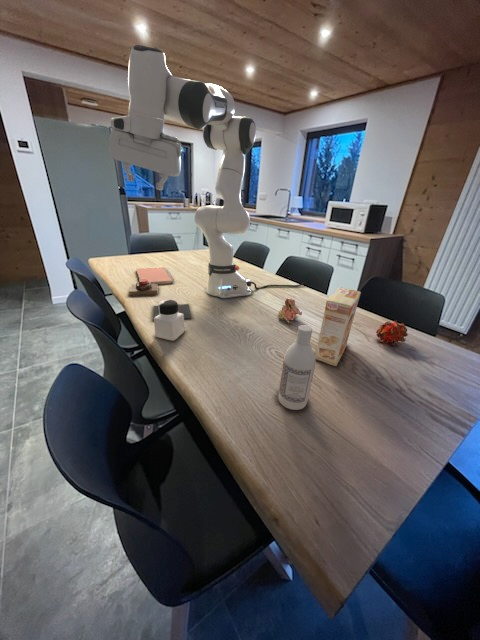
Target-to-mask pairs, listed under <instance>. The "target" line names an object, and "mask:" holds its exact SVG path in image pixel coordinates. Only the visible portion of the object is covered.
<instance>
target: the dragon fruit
mask: <svg viewBox="0 0 480 640" xmlns="http://www.w3.org/2000/svg"><path fill="white" fill-rule="evenodd" d="M375 333H376V337H377V338H378V340H377V342H380V343H383V344H387V343H390V344H391V346H395V345H396V346H397V344H398V342H400V343H405V342H406V337H408V328H407V326H406V325H405V324H404V323H399V322H398V321H397V320H394V321H393V322H391V321H390V320H388V321H386V322H385V323H382V324H380V325H379V328H378V329H376V331H375Z"/></svg>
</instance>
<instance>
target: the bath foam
mask: <svg viewBox="0 0 480 640" xmlns="http://www.w3.org/2000/svg"><path fill="white" fill-rule="evenodd" d="M312 334H313V328H312V327H311V326H309V325H305V324H302V325H298V327H297V332H296V339H295V341H294V342H293V343H292V344H291V345H290V346H289V347H288V348H287V350H286V351H285V354H284V356H283V362H282V367H281V374H280V381H279V387H278V395H277V398H278V402H279V403H280V404H281V405H282V406H283V407H285V408H286V409H289V410H292V411H299V410H302V409H304V408H305V407H306V406H307V404H308V400H309V396H310V391H311V386H312V381H313V377H314V373H315V369H316V368H315V367H316V359H315V352H314V349H313V347H312V345H311V338H312Z"/></svg>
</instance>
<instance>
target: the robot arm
mask: <svg viewBox="0 0 480 640" xmlns="http://www.w3.org/2000/svg"><path fill="white" fill-rule="evenodd" d="M166 64H167V63H166V55H165V53H164V52H163V51H162V50H161V49H160V48H157V47H156V48H155V47H150V46H146V45H141V44H135V45H134V46H132V47H131V50H130V53H129V60H128V71H127V72H128V74H127V75H128V77H127V80H128V81H127V83H128V84H127V86H128V89H127V90H128V94H129V105H128V111H127V112H128V115H124V116H117V117H112V118H110V127H111V128H112V130H111V131H110V134H109V154H110V156H111V158H112V159H113V160H116V161H118V162H122V168H123V170H124V172H125V174H126V181H129V182H135V180H136V179H135V174H133V172H132V170H131V168H132V165H133V166H136V167H139V168H141V169H146V170H149V171H153V172H155V173H159V177H160V180H159V182H158V181H157V182H156V183H155V189H156V190H158V191H164V188H165V187H164V185H165V184H166V182H167V180H168V178H169V177H174V178H175V177H178V176H180V174H181V171H182V169H181V168H182V159H181V155H182V153H183V152H182V150H183V145H182V143H181V141H180V140H179V139H178V138H177V137H176V136H172V135H169V134H165V133H164V132H165V120H168V121H170V122H174V123H178V124H182V125H185V126H188V127H191V128H193V129H196V130H202V138H203V142H204V143H205V145H206V147H207V148H208V149H211V150H215V151H216V150H217V151H219V150H220V151H223V155H222V158H221V160H220V164H219V168H218V172H217V178H216V182H215V189H214V190H215V192H216V195H217V196H218V197H219V198H220V199H221V200H223V205H203V206H199V207H198V208H197V209H196V210H195V213H194V223H195V224H196V227H197V228H198V229H199V230H200V231H201V232H202V234H203V235H204V237H205V239H206V243H207V246H208V257H209V258H208V259H209V261H208V266H207V274H208V281H207V286H206V288H205V289H206V290H205V293H206V294H208V295H210V296H214V297H219V298H220V299H229V298H237V297H238V298H239V297H246V296H251V295H252V288H250V287H252V285H254V286H253V287H254V289H256V290H261V289H265V288H270V287H282V288H283V287H287V288H289V287H290V288H296V287H301V286H303V285H304V286H307V284H306V282H302V283H300V284H267V285H264V286H261V287H257V284H256V282H254V281H252V280H250V279H249V278H245V277H244V276H243V275H242V274H241V273H239V272H238V271H239V270H240V266H239V265H237V264H235V263H234V248H233V245H232V243H230V242H229V241H228V240H226V238H225V236H224V234H227V235H241V234H242V235H243V234H245V233H246V232H247V231H248V230H249V228H250V225H251V218H250V214H249V212H248V211H247V210H246V209H245V207H244V206H243V203H242V199H241V193H242V187H243V182H244V175H245V169H246V155H247V154H248V153H249V152H250V150H251V149H252V148H253V146H254V145H255V143H256V139H257V126H256V123H255V121H254V119H253V118H252V117H248V116H245V115H244V116H235V110H236V103H235V100H234V97H233V95H232V94H231V93H230V92H229V91H227V90H226V89H224V88H223V87H222V86H219V85H217V84H214V83H205V82H203V81H200V80H191V79H187V78H183V77H179V76H173V74H172V73H171V72H170V70H169V69H168V68H169V67H167V66H168V65H166Z"/></svg>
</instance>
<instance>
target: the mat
mask: <svg viewBox="0 0 480 640" xmlns="http://www.w3.org/2000/svg"><path fill="white" fill-rule="evenodd" d="M178 313H182V314H184V320H191V319H192V317H191V310H190V306H189V304H188V303H186V304H183V303H182V304H178ZM158 315H159V306H158V305H154V306H153V316H152V321H153V322H154V318H155V317H156V316H158Z"/></svg>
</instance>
